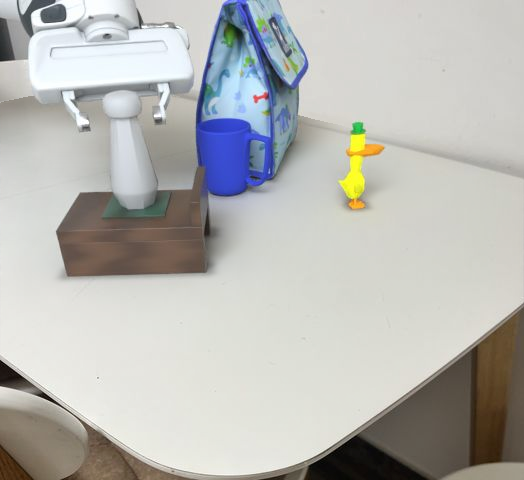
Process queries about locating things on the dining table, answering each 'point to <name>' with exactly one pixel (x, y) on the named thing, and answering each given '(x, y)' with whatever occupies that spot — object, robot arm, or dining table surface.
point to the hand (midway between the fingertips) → (122, 126)
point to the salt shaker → (129, 152)
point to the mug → (229, 154)
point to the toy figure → (357, 164)
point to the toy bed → (137, 233)
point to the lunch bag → (254, 77)
